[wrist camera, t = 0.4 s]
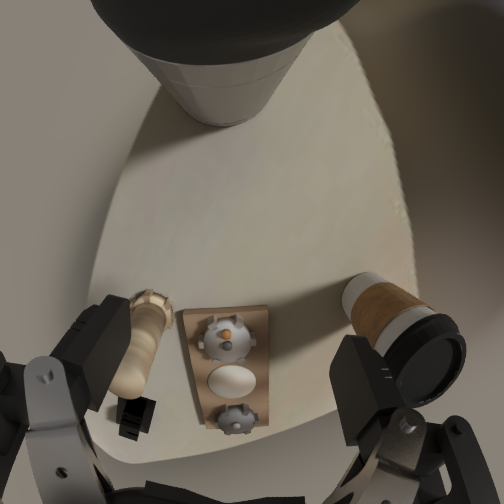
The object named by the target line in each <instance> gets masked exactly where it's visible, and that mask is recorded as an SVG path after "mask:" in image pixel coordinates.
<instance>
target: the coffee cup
mask: <svg viewBox="0 0 504 504" xmlns="http://www.w3.org/2000/svg"><path fill="white" fill-rule="evenodd" d="M342 306H343V309H344V311H345V313H346V315H347V316H348V318H349V320H350V322H351V324H352V326H353V328H354V330H355V332H356V334H357V335H360V336H366V337H367V339H368V341H369V343H370V345H371V347H372V349H375V350H376V351H377V352H378V353H379V354H380V355H381V356H382V357H383V358H384V360H385V362H386V364H387V366H388V368H389V369H388V370H390V372H391V374H392V378H394V381H395V383H396V385H397V387H398V389H399V392H400V394H401V396H402V398H403V400H404V403H405V405H406V407H410V408H417V407H421V406H424V405H426V404H428V403H430V402H432V401H434V400H435V399H437V398H439V397H440V396H441V395H443V394H444V392H445V391H447V389H448V388H449V387H450V386H451V385H452V384H453V383H454V382H455V380H456V379H457V377H458V376H459V374H460V372H461V370H462V368H463V365H464V362H465V358H466V343H465V340H464V338H463V337H462V335H461V334H460V332H459V330H458V326H457V325H456V324H455V322H454V321H453V320H452V319H451V317H449V316H448V315H446V314H437V312H436V311H435V309H434V308H432V307H430V306H429V305H427V304H426V303H424V302H422V301H421V300H419V299H418V298H416V297H414V296H413V295H411V294H409V293H408V292H406V291H405V290H403V289H401V288H400V287H398V286H396V285H395V284H393V283H391V282H389V281H388V280H386V279H385V278H383V277H382V276H380V275H378V274H376V273H373V272H366V273H362V274H359V275H357V276H356V277H354V278H353V279H352V280H351V281H350V282H349V283H348V284H347V286H346V287H345V289H344V291H343V294H342Z"/></svg>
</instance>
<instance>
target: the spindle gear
mask: <svg viewBox="0 0 504 504" xmlns="http://www.w3.org/2000/svg"><path fill="white" fill-rule="evenodd" d="M171 304H172V301H171V299H170V298H169V297H168V298H165V297H164V296H162V295H161V294H158V293H155V292H153V289H151V290H146V292H145V293H144V294H142V295H140V296H139V297H138V299H136V298H134V299H133V301H132V302H131V304H130V311H131V318H130V319H131V341H130V344H129V347H128V349H127V351H126V353H125V355H124V357H123V359H122V361H121V363H120V365H119V367H118V370H117V372H116V374H115V376H114V378H113V380H112V382H111V384H110V386H109V389H108V390H109V391H110V392H112V393H113V394H115V395H117V396H119V397H121V398H125V399H136V398H138V397H140V396H141V395H142V394H143V392H144V388H145V385H146V382H147V379H148V376H149V372H150V369H151V366H152V363H153V360H154V357H155V354H156V351H157V348H158V345H159V342H160V339H161V336H162V333H163V332H164V331H165V330H167V328H169V329H171V327H172V325H173V322H174V319H175V317H174V316H172V315H173V309H172V306H171Z"/></svg>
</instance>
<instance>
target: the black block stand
mask: <svg viewBox="0 0 504 504" xmlns="http://www.w3.org/2000/svg"><path fill="white" fill-rule="evenodd" d="M155 405H156V401H154V400H151V399H147V398H144V397H141V396H140V397H138V398H136V399H125V398H121V397H119V396H118V405H117V418H116V423H118V424H120V426H119V435H120V436H123V437H126V438H128V439H131V440H135V441H137V440H138V436H139V432H140V431H141V432H144V433H147V434H148V432H149V428H150V424H151V420H152V416H153V412H154V408H155Z"/></svg>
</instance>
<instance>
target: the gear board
mask: <svg viewBox="0 0 504 504" xmlns="http://www.w3.org/2000/svg"><path fill="white" fill-rule="evenodd" d="M183 320H184V326H185V332H186V338H187V343H188V348H189V353H190V359H191V364H192V368H193V373H194V378H195V383H196V387H197V392H198V396H199V400H200V405H201V409H202V413H203V417H204V421H205V425H206V429H221V430H222V431H224V434H226V435H230V434H241V433H245V434H249V433H251V429H253V427H260V426H269V316H268V307H267V305H257V306H242V307H224V308H203V309H184V311H183Z"/></svg>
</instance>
